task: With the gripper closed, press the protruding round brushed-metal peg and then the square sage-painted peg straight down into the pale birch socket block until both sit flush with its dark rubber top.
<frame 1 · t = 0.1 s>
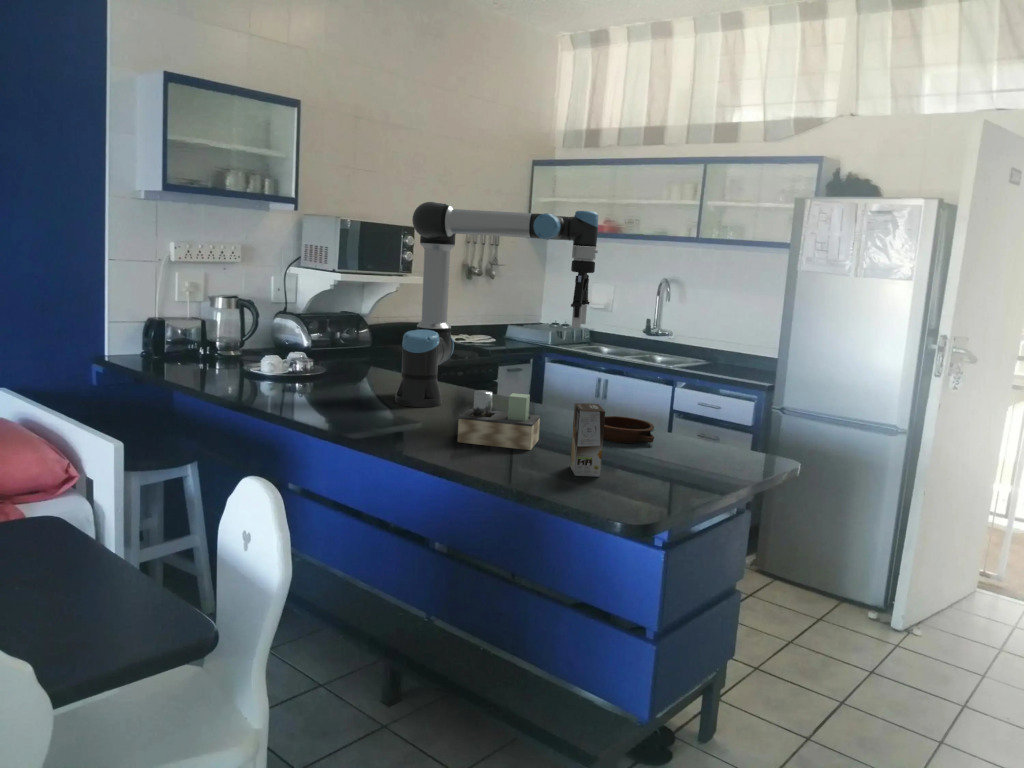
hand: (578, 326, 269), 28 cm above the worktop, fingers open, 13 cm apart
socket block: (498, 441, 226), on the worktop
metal peg: (482, 404, 226), point 10 cm above the worktop, slide at 6.0 cm
coffee box: (584, 472, 201), on the worktop
sage peg: (518, 408, 224), point 10 cm above the worktop, slide at 6.0 cm
dish: (621, 439, 238), on the worktop
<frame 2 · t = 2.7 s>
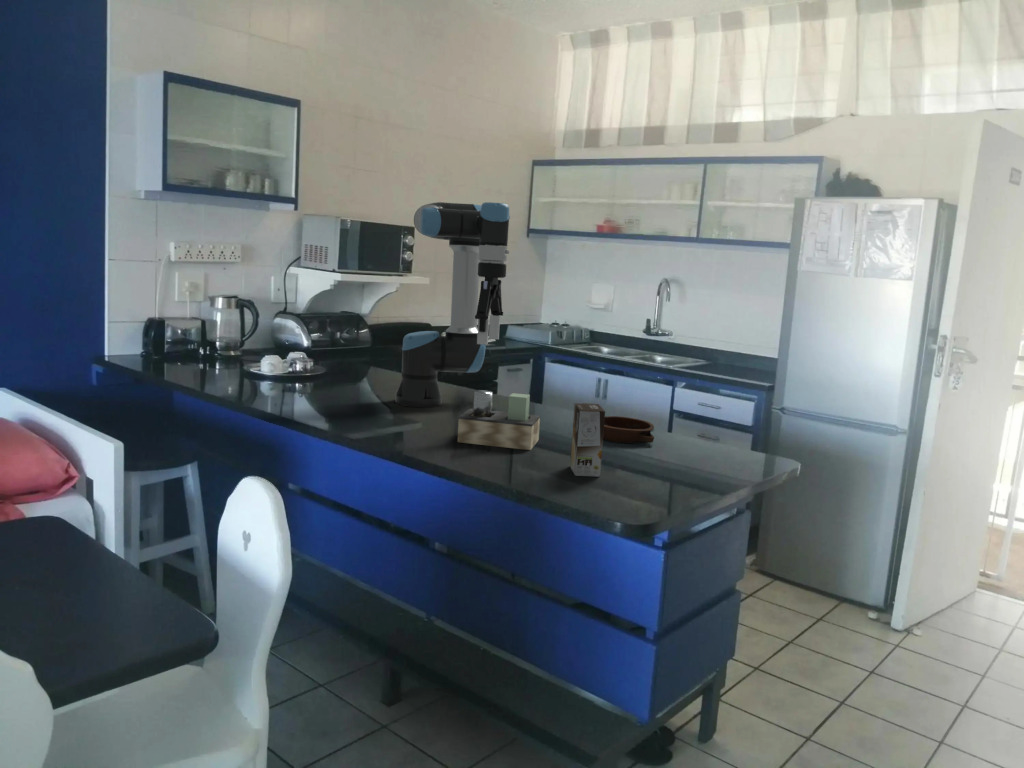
hand: (488, 341, 223), 27 cm above the worktop, fingers open, 13 cm apart
nothing on the worktop moved.
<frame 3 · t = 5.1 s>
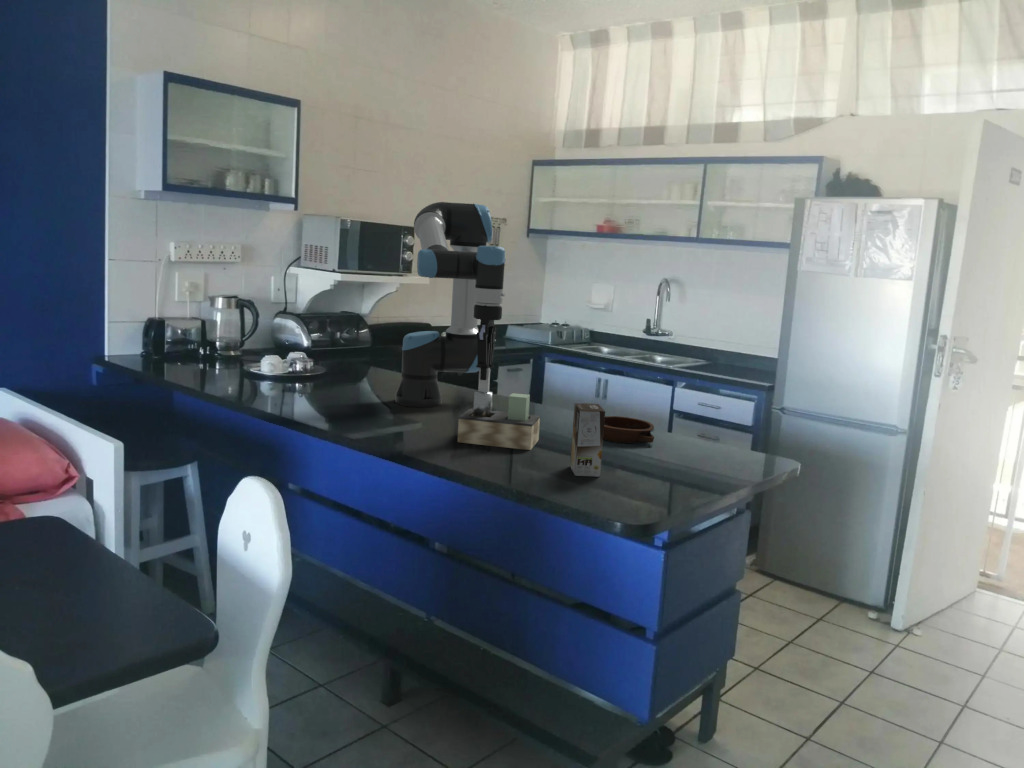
hand: (483, 391, 225), 13 cm above the worktop, fingers closed
metal peg: (482, 404, 226), point 10 cm above the worktop, slide at 6.0 cm, touching gripper
everything else where it was.
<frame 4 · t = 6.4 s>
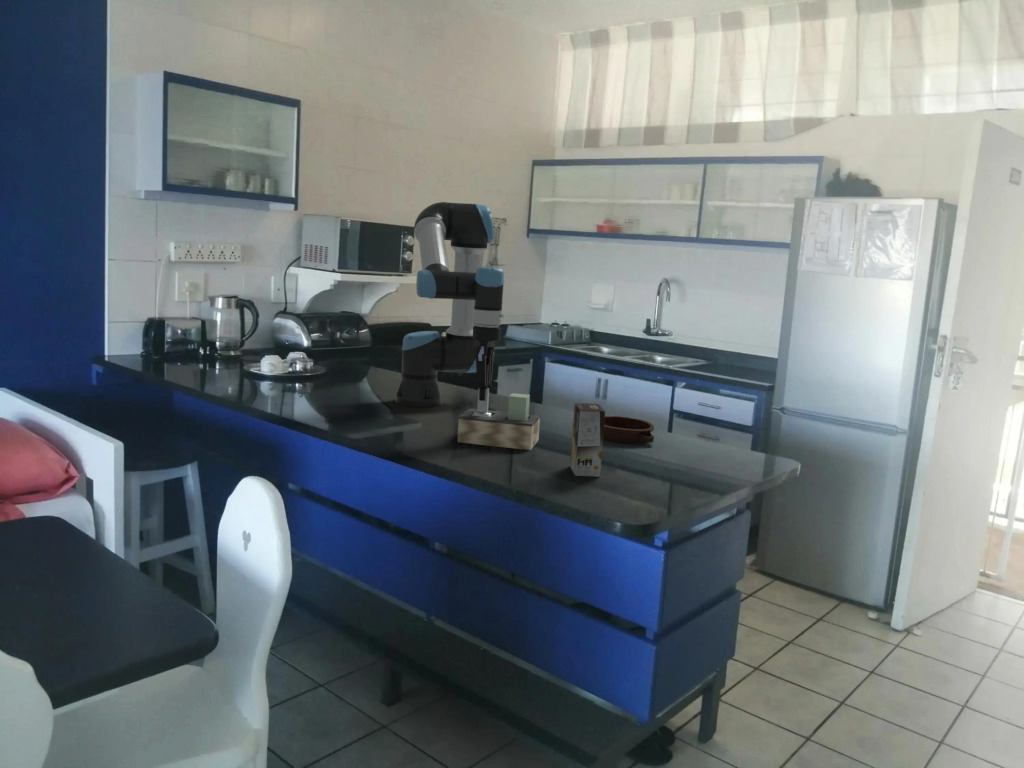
hand: (482, 411, 226), 8 cm above the worktop, fingers closed
metal peg: (481, 424, 226), point 4 cm above the worktop, slide at 0.3 cm, touching gripper
everything else where it was.
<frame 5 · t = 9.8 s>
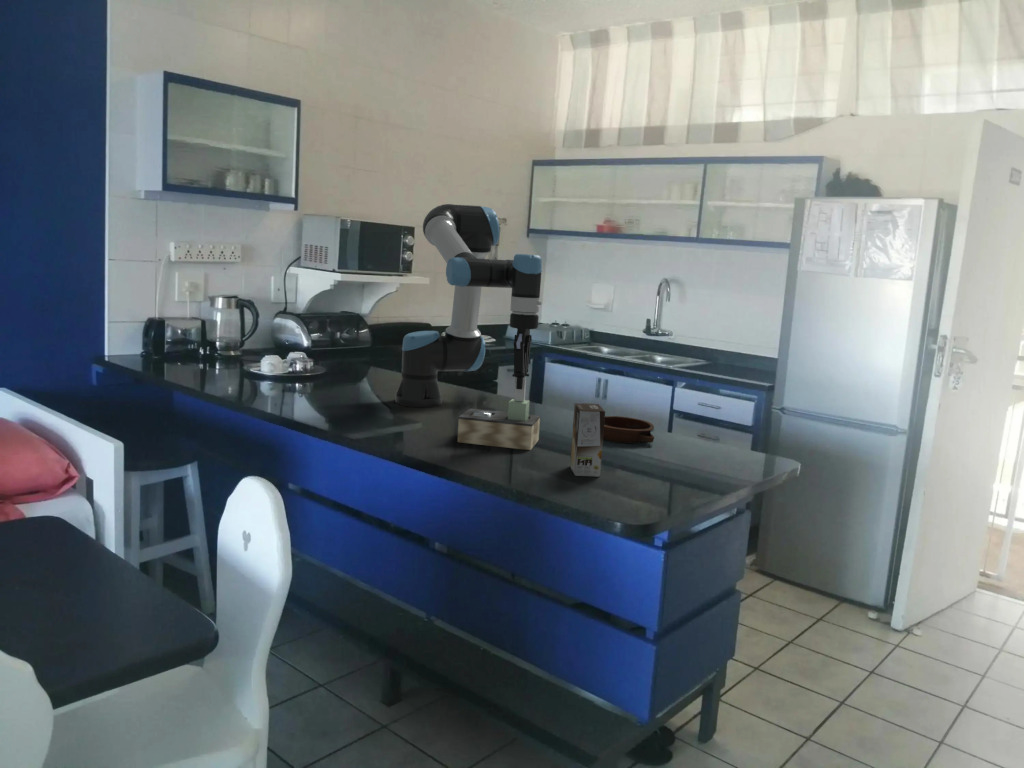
hand: (519, 400, 223), 12 cm above the worktop, fingers closed
metal peg: (481, 424, 226), point 4 cm above the worktop, slide at 0.3 cm
sage peg: (518, 414, 224), point 8 cm above the worktop, slide at 4.4 cm, touching gripper
everything else where it was.
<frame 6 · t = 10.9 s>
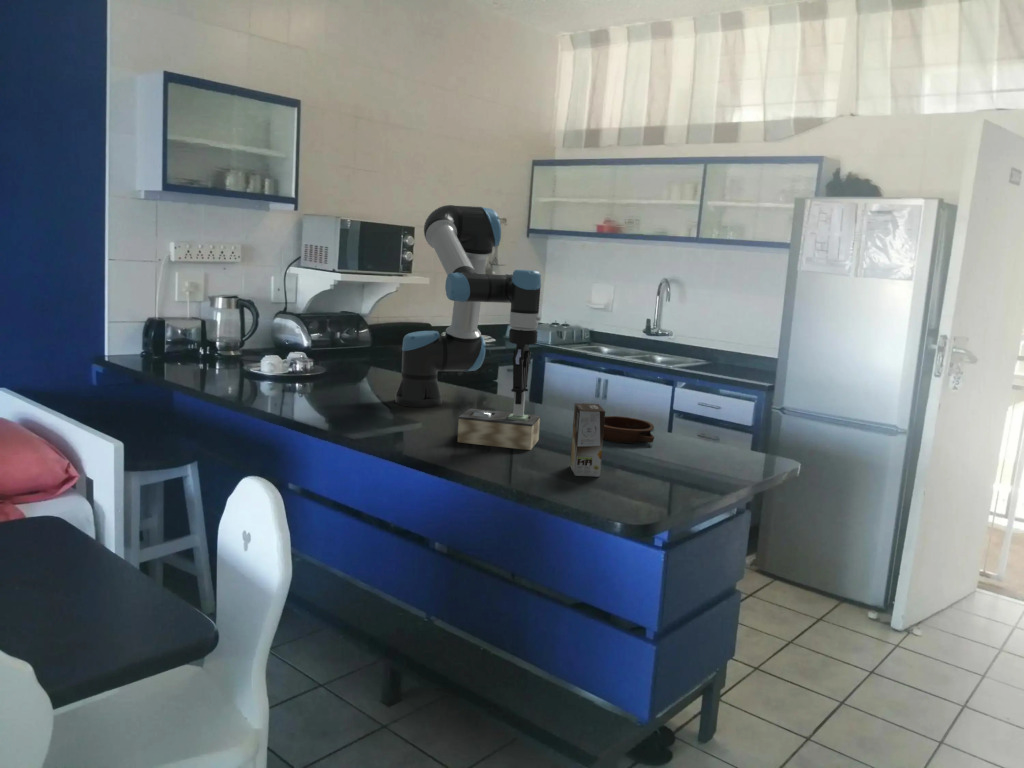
hand: (518, 415, 224), 8 cm above the worktop, fingers closed
sage peg: (517, 428, 225), point 4 cm above the worktop, slide at 0.3 cm, touching gripper
everything else where it was.
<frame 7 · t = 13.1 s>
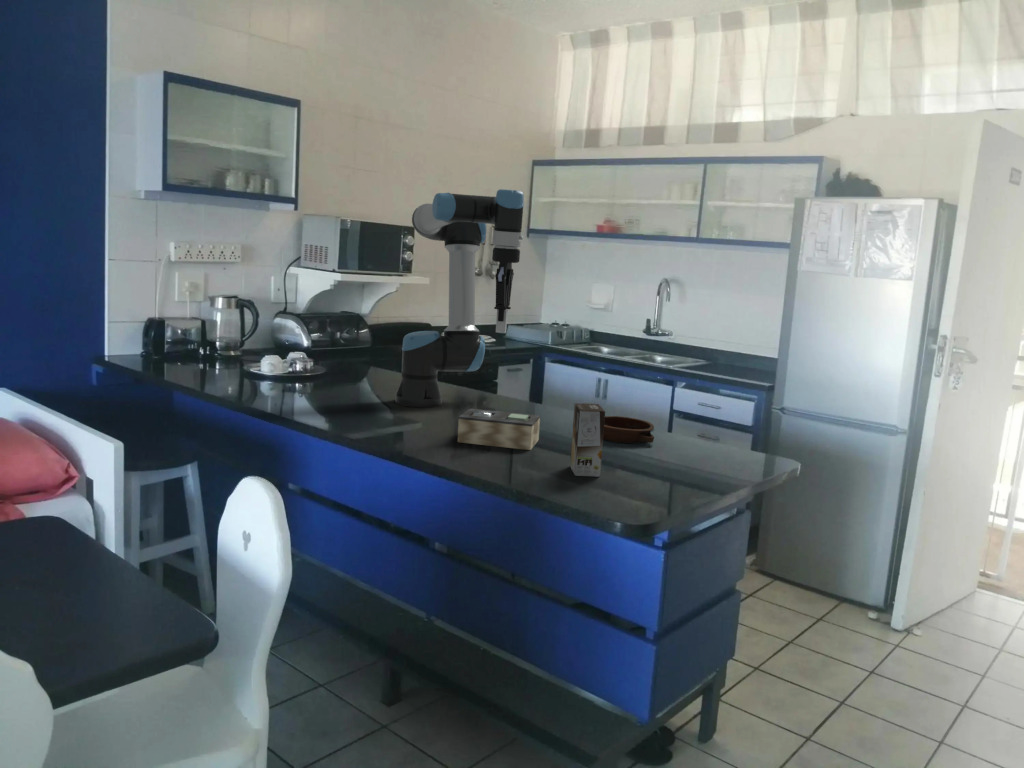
hand: (500, 332, 232), 29 cm above the worktop, fingers closed
sage peg: (517, 428, 225), point 4 cm above the worktop, slide at 0.3 cm
everything else where it was.
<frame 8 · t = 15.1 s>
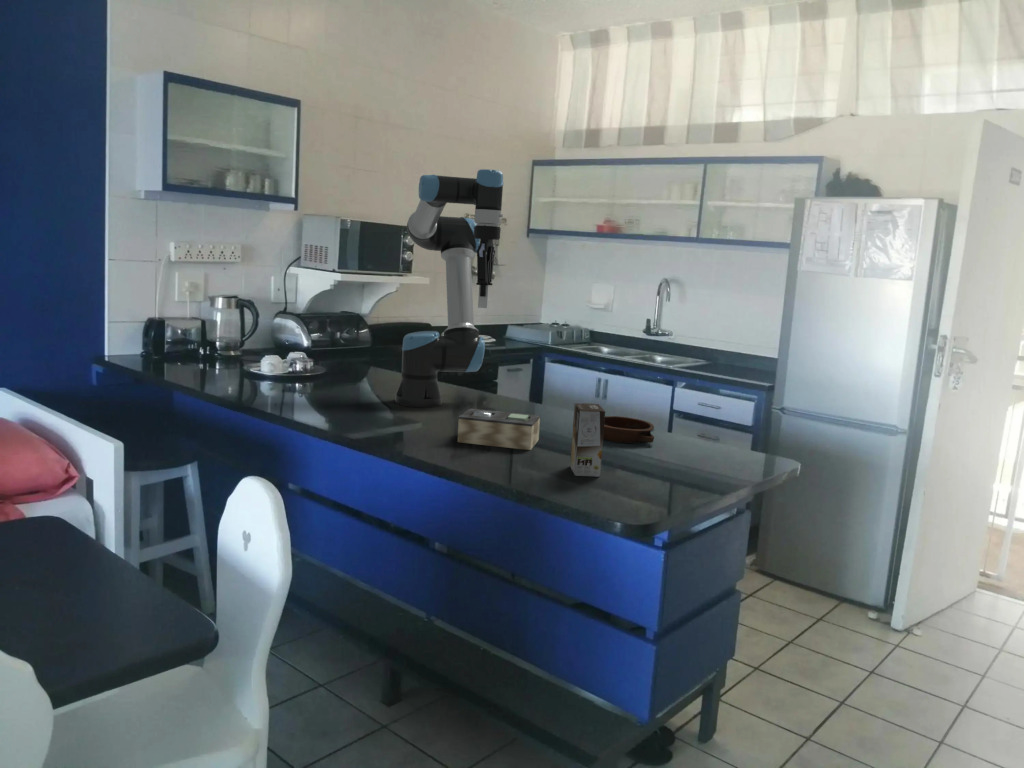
hand: (483, 307, 241), 34 cm above the worktop, fingers closed
nothing on the worktop moved.
at the end: metal peg slide at 0.3 cm; sage peg slide at 0.3 cm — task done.
